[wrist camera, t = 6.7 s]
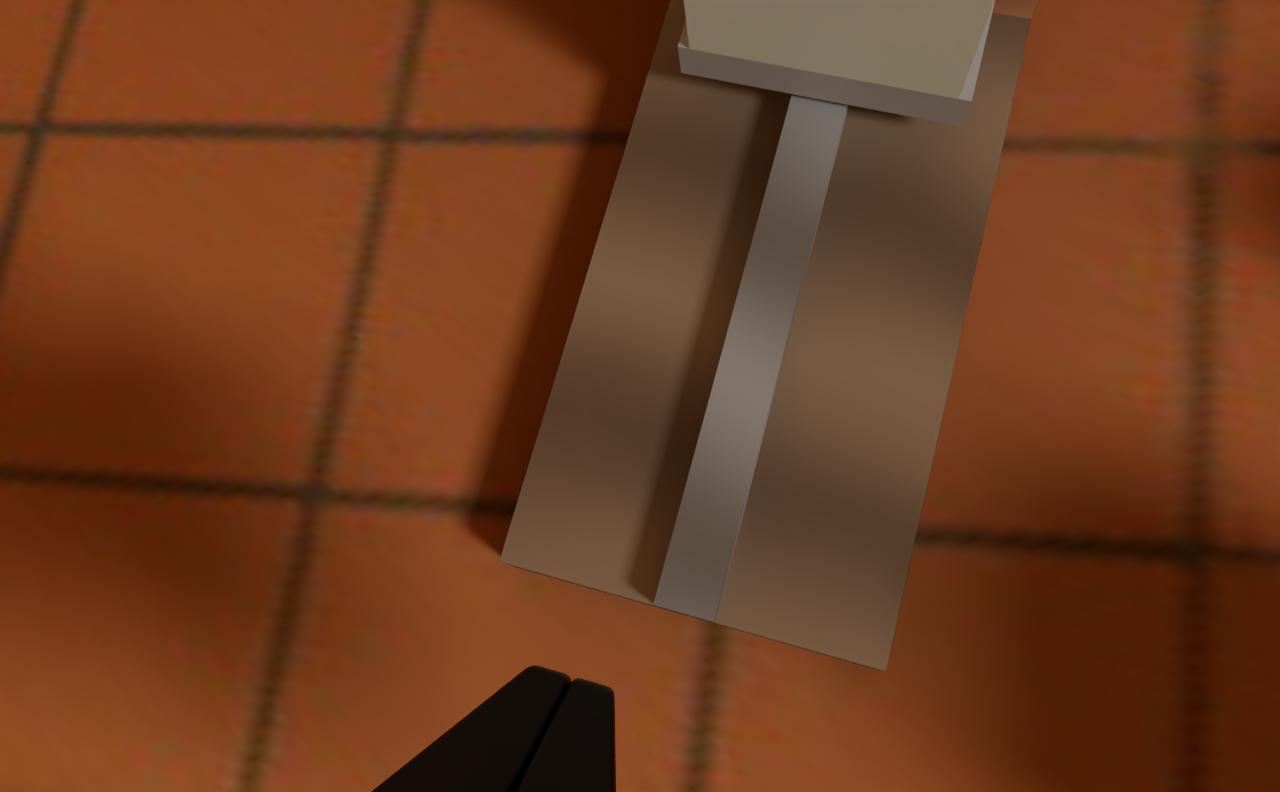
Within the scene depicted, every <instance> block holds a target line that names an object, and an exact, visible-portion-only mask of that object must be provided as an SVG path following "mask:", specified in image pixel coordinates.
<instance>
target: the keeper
mask: <svg viewBox="0 0 1280 792" xmlns="http://www.w3.org/2000/svg"><path fill="white" fill-rule="evenodd" d="M994 3H995V0H684V8H685V16H686V21H685V24H684V27H683V31H682V34H681V37H680V41H679V44H678V53H679V60H680V67H681V73H684V74H690V75H695V76H700V77H705V78H711V79H716V80H721V81H726V82H732V83H737V84H742V85H747V86H753V87H758V88H763V89H768V90H774V91H779V92H784V93H789V94H795V95H800V96H805V97H810V98H816V99H821V100H826V101H831V102H836V103H842V104H847V105H852V106H857V107H863V108H868V109H873V110H878V111H884V112H889V113H894V114H899V115H905V116H910V117H915V118H920V119H926V120H931V121H936V122H941V123H947V124H952V125H957V126H962V125H963V123H964V120H965V118H966V115H967V112H968V110H969V107H970V105H971V102H972V98H973V94H974V90H975V85H976V81H977V77H978V72H979V68H980V64H981V59H982V55H983V51H984V46H985V42H986V38H987V33H988V29H989V25H990V20H991V16H992V12H993V8H994Z"/></svg>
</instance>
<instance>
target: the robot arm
mask: <svg viewBox="0 0 1280 792" xmlns="http://www.w3.org/2000/svg"><path fill="white" fill-rule="evenodd" d="M372 792H616V761H615V700H614V692H613V690H612V689H611V688H610V687H608V686H604V685H601V684H598V683H594V682H591V681H587V680H584V679H579V678H577V679H574V680H573V681H572V682H571V678H570V677H569V676H568V675H566V674H564V673H561V672H557V671H554V670H551V669H547V668H544V667H541V666H535V665H534V666H530V667H528V668H526V669H525V670H523V671H522V672H521V673H520V674H518V675H517V676H516V677H515V678H513V679H512V680H511V681H510V682H508V683H507V684H506V685H505V686H503V687H502V688H501V689H500V690H498V691H497V692H496V693H495V694H493V695H492V696H491V697H490V698H488V699H487V700H486V701H484V702H483V703H482V704H481V705H479V706H478V707H477V708H476V709H474V710H473V711H472V712H471V713H469V714H468V715H467V716H466V717H464V718H463V719H462V720H461V721H459V722H458V723H457V724H456V725H454V726H453V727H452V728H451V729H449V730H448V731H447V732H446V733H444V734H443V735H442V736H441V737H439V738H438V739H437V740H436V741H434V742H433V743H432V744H431V745H429V746H428V747H427V748H426V749H424V750H423V751H422V752H420V753H419V754H418V755H417V756H415V757H414V758H413V759H412V760H410V761H409V762H408V763H407V764H405V765H404V766H403V767H402V768H400V769H399V770H398V771H397V772H395V773H394V774H393V775H392V776H390V777H389V778H388V779H387V780H385V781H384V782H383V783H382V784H380V785H379V786H378V787H377V788H375V789H374V790H373V791H372Z"/></svg>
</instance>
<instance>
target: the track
mask: <svg viewBox="0 0 1280 792" xmlns="http://www.w3.org/2000/svg"><path fill="white" fill-rule="evenodd" d="M1038 1H1039V0H995V3H994V8H993V12H992V16H991V20H990V25H989V29H988V33H987V38H986V42H985V46H984V51H983V55H982V59H981V64H980V68H979V72H978V77H977V81H976V85H975V90H974V94H973V98H972V102H971V105H970V107H969V110H968V112H967V115H966V118H965V120H964V123H963V125H962V126H957V125H952V124H947V123H941V122H936V121H931V120H926V119H920V118H915V117H910V116H905V115H899V114H894V113H889V112H884V111H878V110H873V109H868V108H863V107H857V106H852V105H847V104H842V103H836V102H831V101H826V100H821V99H816V98H810V97H805V96H800V95H795V94H789V93H784V92H779V91H774V90H768V89H763V88H758V87H753V86H747V85H742V84H737V83H732V82H726V81H721V80H716V79H711V78H705V77H700V76H695V75H690V74H684V73H681V67H680V60H679V53H678V44H679V41H680V37H681V34H682V31H683V27H684V24H685V21H686V16H685V8H684V0H670V3H669V6H668V9H667V13H666V16H665V19H664V22H663V26H662V29H661V32H660V35H659V39H658V42H657V45H656V49H655V52H654V55H653V58H652V62H651V65H650V68H649V72H648V75H647V78H646V81H645V85H644V88H643V91H642V95H641V98H640V101H639V104H638V108H637V111H636V114H635V117H634V121H633V124H632V127H631V131H630V134H629V137H628V140H627V144H626V147H625V150H624V154H623V157H622V160H621V163H620V167H619V170H618V173H617V177H616V180H615V183H614V186H613V190H612V193H611V196H610V200H609V203H608V206H607V209H606V213H605V216H604V219H603V222H602V226H601V229H600V232H599V236H598V239H597V242H596V245H595V249H594V252H593V255H592V259H591V262H590V265H589V268H588V272H587V275H586V278H585V282H584V285H583V288H582V291H581V295H580V298H579V301H578V304H577V308H576V311H575V314H574V318H573V321H572V324H571V327H570V331H569V334H568V337H567V341H566V344H565V347H564V350H563V354H562V357H561V360H560V364H559V367H558V370H557V373H556V377H555V380H554V383H553V387H552V390H551V393H550V396H549V400H548V403H547V406H546V409H545V413H544V416H543V419H542V423H541V426H540V429H539V432H538V436H537V439H536V442H535V446H534V449H533V452H532V455H531V459H530V462H529V465H528V469H527V472H526V475H525V478H524V482H523V485H522V488H521V492H520V495H519V498H518V501H517V505H516V508H515V511H514V514H513V518H512V521H511V524H510V528H509V531H508V534H507V537H506V541H505V544H504V547H503V551H502V554H501V557H500V560H499V562H502V563H505V564H508V565H511V566H514V567H517V568H521V569H524V570H528V571H531V572H535V573H538V574H542V575H546V576H549V577H553V578H556V579H560V580H563V581H567V582H570V583H574V584H577V585H581V586H584V587H588V588H591V589H595V590H598V591H602V592H605V593H609V594H612V595H616V596H619V597H623V598H627V599H630V600H634V601H637V602H641V603H644V604H648V605H651V606H655V607H658V608H662V609H665V610H669V611H672V612H676V613H679V614H683V615H686V616H690V617H693V618H697V619H700V620H704V621H707V622H711V623H715V624H718V625H722V626H725V627H729V628H732V629H736V630H739V631H743V632H746V633H750V634H753V635H757V636H760V637H764V638H767V639H771V640H774V641H778V642H781V643H785V644H788V645H792V646H796V647H799V648H803V649H806V650H810V651H813V652H817V653H820V654H824V655H827V656H831V657H834V658H838V659H841V660H845V661H848V662H852V663H855V664H859V665H862V666H866V667H869V668H873V669H877V670H882V671H886V668H887V664H888V659H889V655H890V650H891V646H892V641H893V637H894V632H895V628H896V623H897V619H898V614H899V610H900V605H901V601H902V596H903V592H904V587H905V583H906V578H907V574H908V569H909V565H910V560H911V556H912V551H913V547H914V542H915V538H916V533H917V529H918V524H919V520H920V515H921V511H922V506H923V502H924V497H925V493H926V488H927V484H928V480H929V475H930V471H931V466H932V462H933V457H934V453H935V448H936V444H937V439H938V435H939V430H940V426H941V421H942V417H943V412H944V408H945V403H946V399H947V394H948V390H949V385H950V381H951V376H952V372H953V367H954V363H955V358H956V354H957V349H958V345H959V340H960V336H961V331H962V327H963V322H964V318H965V313H966V309H967V304H968V300H969V295H970V291H971V286H972V282H973V277H974V273H975V268H976V264H977V259H978V255H979V250H980V246H981V241H982V237H983V232H984V228H985V223H986V219H987V214H988V210H989V205H990V201H991V196H992V192H993V187H994V183H995V178H996V174H997V169H998V165H999V160H1000V156H1001V151H1002V147H1003V142H1004V138H1005V133H1006V129H1007V124H1008V120H1009V115H1010V111H1011V107H1012V102H1013V98H1014V93H1015V89H1016V84H1017V80H1018V75H1019V71H1020V66H1021V62H1022V57H1023V53H1024V48H1025V44H1026V39H1027V35H1028V30H1029V26H1030V21H1031V18H1032V15H1033V13H1034V11H1035V8H1036V6H1037V4H1038Z"/></svg>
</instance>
